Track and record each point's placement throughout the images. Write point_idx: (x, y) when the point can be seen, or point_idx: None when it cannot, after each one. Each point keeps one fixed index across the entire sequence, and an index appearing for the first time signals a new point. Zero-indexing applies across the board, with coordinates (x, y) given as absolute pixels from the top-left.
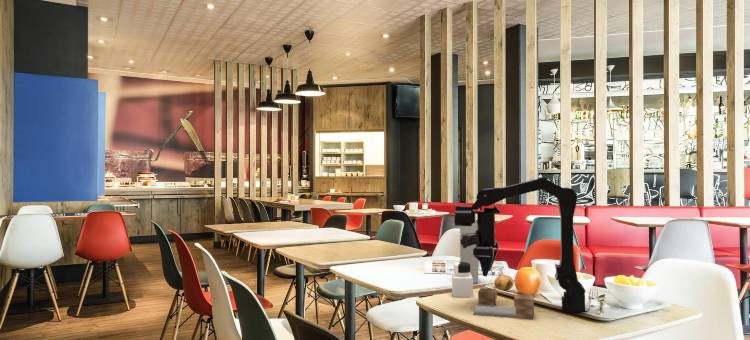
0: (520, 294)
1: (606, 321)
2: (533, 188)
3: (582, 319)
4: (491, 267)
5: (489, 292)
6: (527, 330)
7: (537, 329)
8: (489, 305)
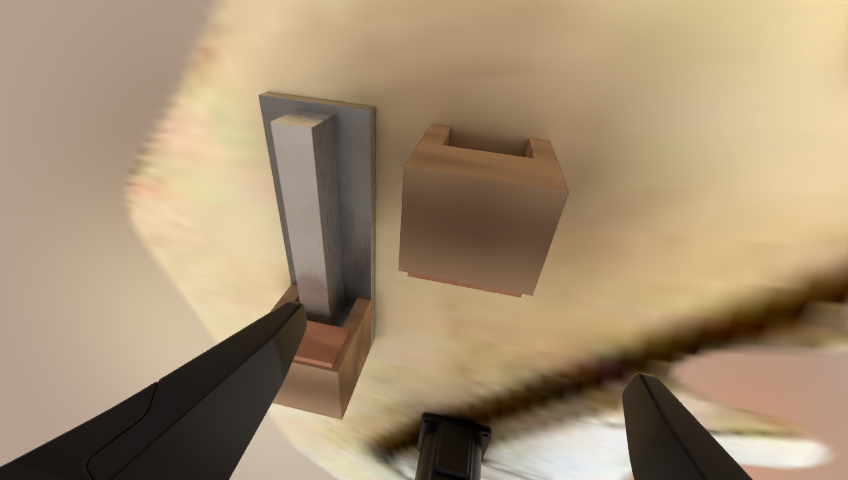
0: (329, 382)
1: (382, 460)
2: None
3: (385, 430)
4: (634, 451)
5: (405, 246)
6: (207, 293)
7: (233, 319)
8: (309, 208)
